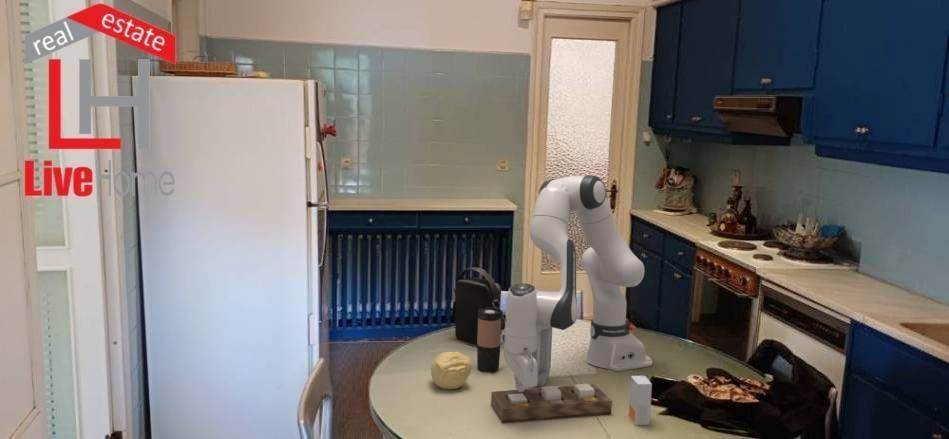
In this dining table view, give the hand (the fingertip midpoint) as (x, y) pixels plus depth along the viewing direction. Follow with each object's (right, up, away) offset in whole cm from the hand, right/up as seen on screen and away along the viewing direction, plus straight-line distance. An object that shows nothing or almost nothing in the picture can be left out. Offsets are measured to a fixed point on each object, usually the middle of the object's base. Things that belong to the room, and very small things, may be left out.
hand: (519, 389), depth 191 cm
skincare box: (+33, -8, -2) cm, 34 cm away
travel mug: (-8, -2, +33) cm, 34 cm away
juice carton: (+6, -3, +24) cm, 25 cm away
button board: (+9, -6, +3) cm, 12 cm away
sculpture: (-20, -4, +19) cm, 28 cm away
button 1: (-1, -5, +1) cm, 5 cm away
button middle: (+9, -3, +3) cm, 10 cm away
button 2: (+19, -3, +5) cm, 20 cm away
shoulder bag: (-12, +3, +59) cm, 60 cm away
